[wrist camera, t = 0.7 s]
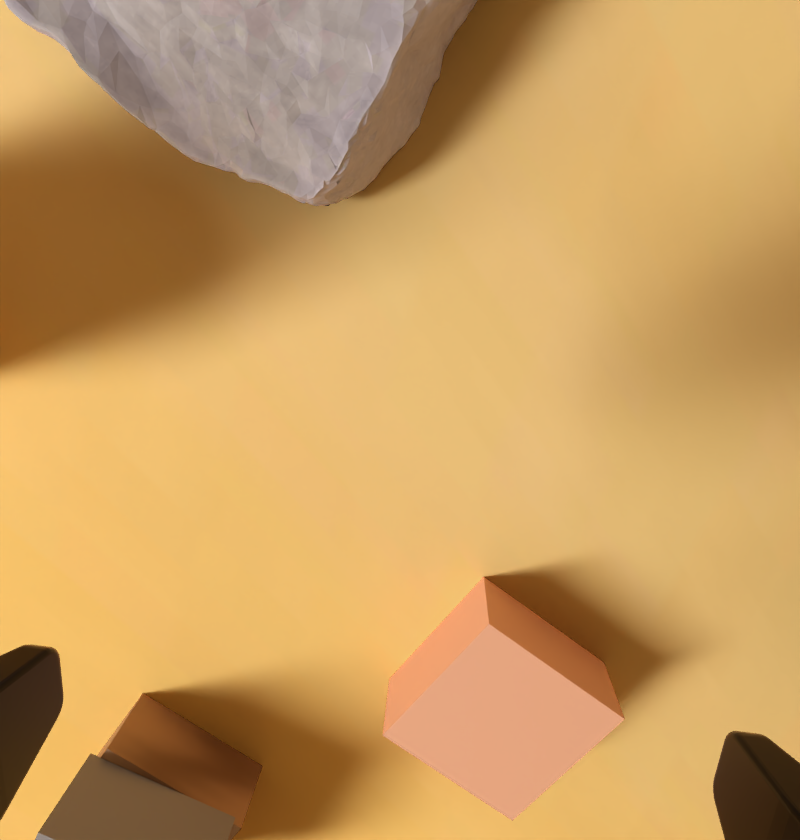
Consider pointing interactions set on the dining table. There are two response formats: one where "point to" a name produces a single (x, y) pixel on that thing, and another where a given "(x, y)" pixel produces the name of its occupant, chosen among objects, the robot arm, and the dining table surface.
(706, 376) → the dining table surface
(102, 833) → the gray block
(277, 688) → the dining table surface
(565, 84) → the dining table surface
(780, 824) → the robot arm
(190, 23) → the stone block
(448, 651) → the terracotta block
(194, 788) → the walnut block
